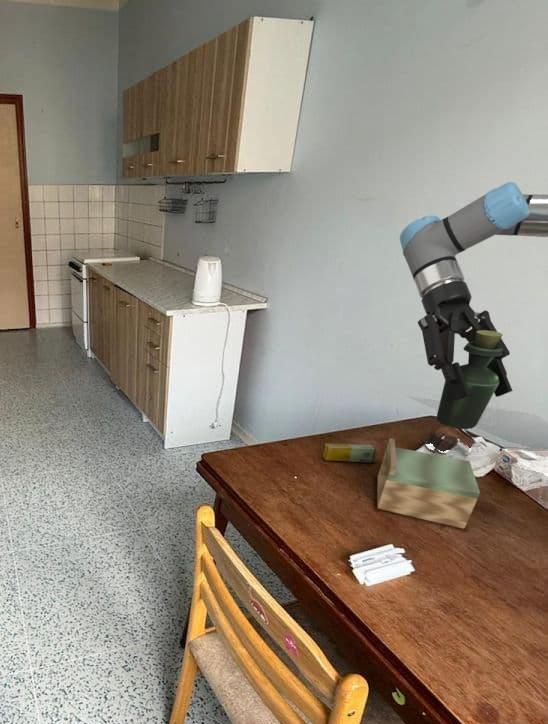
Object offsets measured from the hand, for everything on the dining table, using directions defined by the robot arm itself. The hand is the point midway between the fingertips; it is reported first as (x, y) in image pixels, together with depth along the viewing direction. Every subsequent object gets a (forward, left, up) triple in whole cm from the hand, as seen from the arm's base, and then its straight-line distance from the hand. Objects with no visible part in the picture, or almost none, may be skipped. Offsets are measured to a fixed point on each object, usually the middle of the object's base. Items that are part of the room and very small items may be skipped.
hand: (483, 395), depth 87 cm
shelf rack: (+3, -6, -29) cm, 29 cm away
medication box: (+18, -19, -29) cm, 39 cm away
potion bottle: (+2, -3, -7) cm, 8 cm away
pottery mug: (-5, -35, -29) cm, 45 cm away
